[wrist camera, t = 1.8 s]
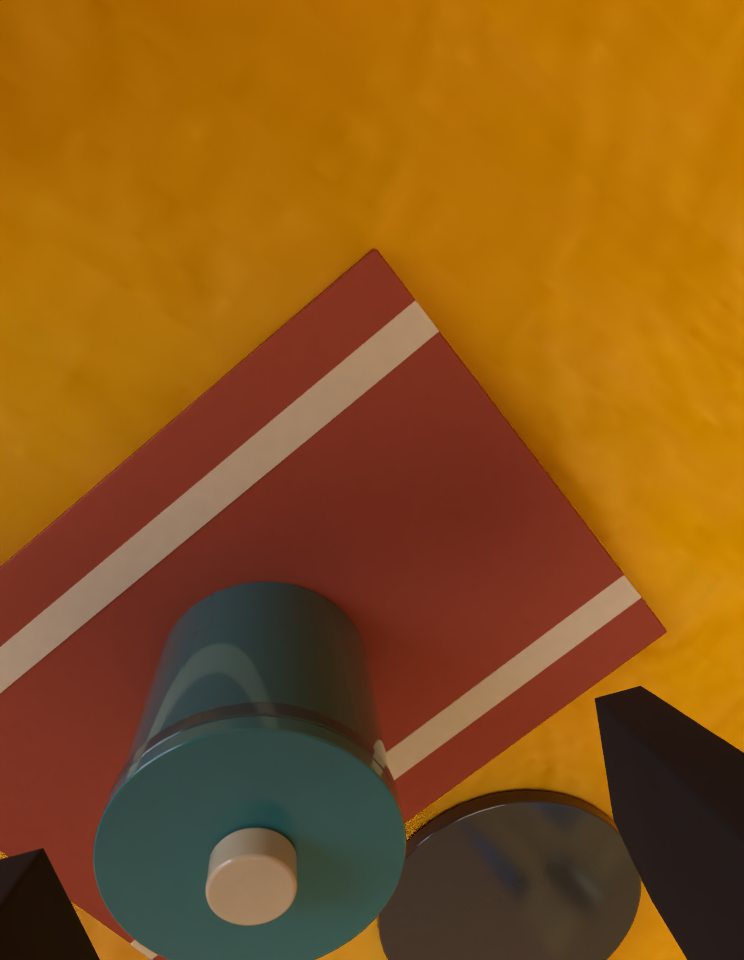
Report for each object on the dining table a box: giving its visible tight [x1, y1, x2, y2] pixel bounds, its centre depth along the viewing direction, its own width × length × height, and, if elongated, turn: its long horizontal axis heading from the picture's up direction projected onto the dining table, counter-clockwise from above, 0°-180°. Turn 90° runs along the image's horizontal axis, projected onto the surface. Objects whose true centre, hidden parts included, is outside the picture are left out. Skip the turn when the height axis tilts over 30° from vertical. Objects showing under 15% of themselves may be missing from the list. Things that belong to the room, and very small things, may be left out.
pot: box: [93, 582, 406, 960], centre depth 16 cm, size 6×6×7 cm
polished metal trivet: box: [377, 790, 641, 960], centre depth 22 cm, size 8×8×1 cm
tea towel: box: [0, 249, 667, 960], centre depth 19 cm, size 18×13×1 cm
